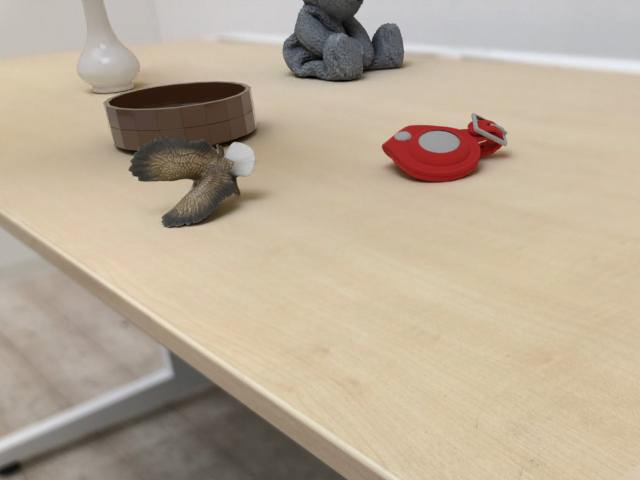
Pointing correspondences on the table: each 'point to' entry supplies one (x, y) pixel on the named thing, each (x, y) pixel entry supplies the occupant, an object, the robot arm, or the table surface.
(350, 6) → the koala plush
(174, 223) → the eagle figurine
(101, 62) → the flower vase
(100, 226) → the table surface
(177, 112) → the bowl
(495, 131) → the tracker holder
